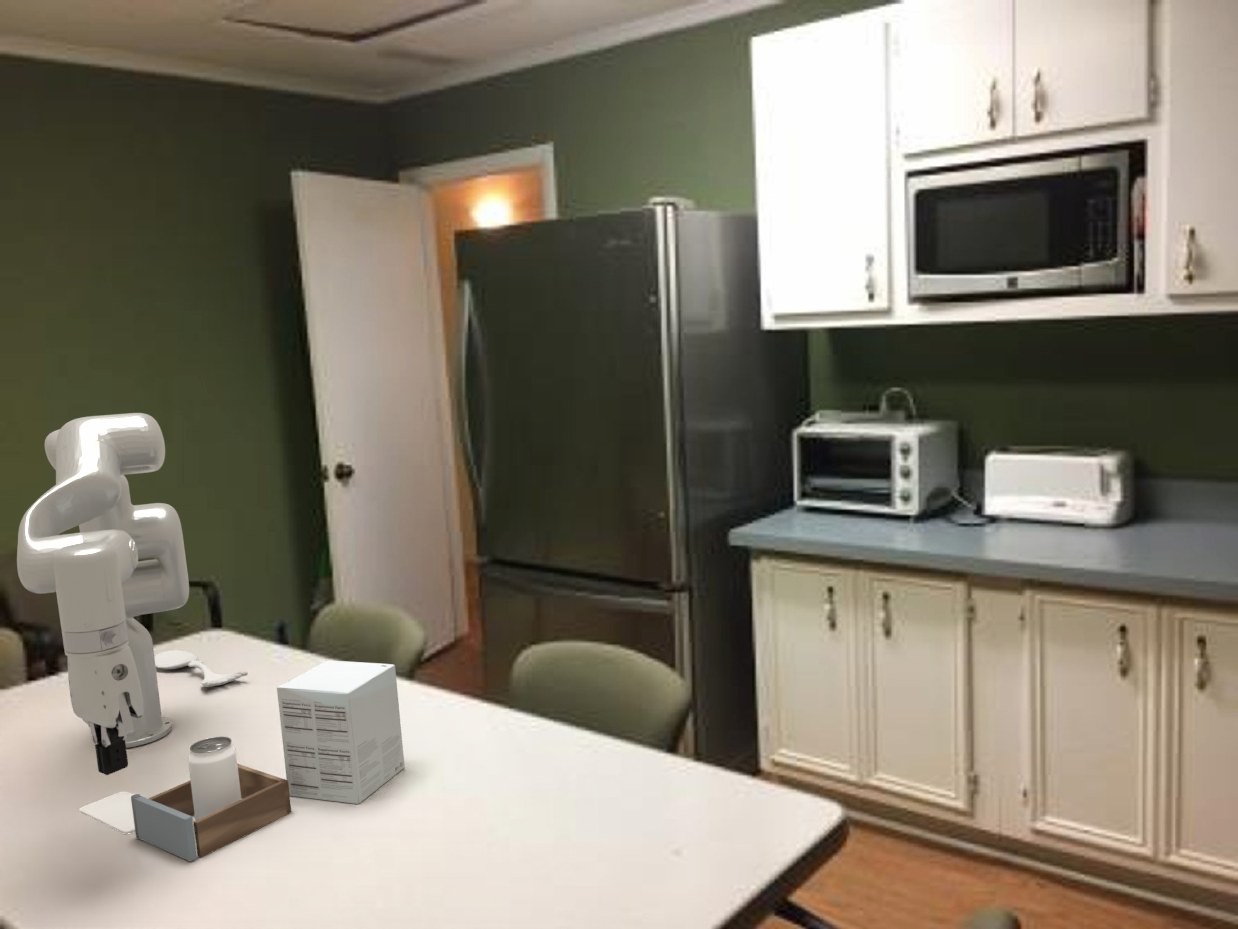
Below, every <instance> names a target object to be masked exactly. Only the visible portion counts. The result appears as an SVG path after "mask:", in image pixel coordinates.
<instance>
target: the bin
mask: <svg viewBox="0 0 1238 929" xmlns="http://www.w3.org/2000/svg"><path fill="white" fill-rule="evenodd" d="M237 765H238V774H239V782H240V791H241V800H239V801H237V802H235V803H233V804H230V805H228V806H226V807H224V808H222V809H220V810H217V811H215V812H213V813H211V814H209V815H207V816H205V817H202V818H200V819H198V820H196V821H195V820H193V829H194V837H195V845H196V853H197V857H198V856H199V857H198V858H203V857H205V856H207V855H209V854H211V853H213V852H216V851H217V850H219V849H221V848H223V847H225V846H227V845H229V844H231V843H233V842H235V841H238V840H239V839H241V838H243V837H245V836H247V835H249V834H251V833H253V832H255V831H258V830H259V829H261V828H263V827H265V826H267V825H269V824H272V823H274V822H275V821H278V820H279V819H282V818H284V817H285V816H287V815H289V814H291V813H292V805H291V796H290V794H289V785H288V780H287V779H286V778H282V777H280V776H276V775H273V774H270V773H266V772H264V771H260V770H257V769H254V768H252V767H249V766H247V765H246V766H245V765H242V764H241V763H237ZM147 799H150V800H152V801H155V802H157V803H160V804H162V805H165V806H167V807H170V808H172V809H175V810H177V811H180V812H182V813H185V814H187V815H190V816H192V817H193V816H195V813H194V805H193V797H192V789H191V780H190V779H189V780H188V781H186V782H183V783H181V784H179V785H176V786H174V787H172V788H169V789H167V790H165V791H162V792H160V793H158V794H155V795H153V796H150V797H148V798H147ZM212 851H213V852H212Z"/></svg>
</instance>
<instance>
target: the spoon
mask: <svg viewBox="0 0 1238 929" xmlns="http://www.w3.org/2000/svg"><path fill="white" fill-rule="evenodd" d="M154 658H155V666H156V668H159V669H161V670H162V669H163V670H177V669H182V668H185V667H187V666H188V667H190V668H197V669H199V670H200V671H202V673H203V677H204V678H203V680H202V681H201V682H200V684H201V685H202V686H203V687H205V688H209V687H210V688H211V687H217V686H222V685H225V684H227V683H231V682H234V681H235V680H238V679H240V678H242V677H245V676H248V675H249V674H248V671H247V670H242V671H239V672H236V673H224V674H223V673H221V674H220V673H216V672H214V671H213V670H212V669H210V668H209V667H208V666H207V665H206V664H204V661H203V660H201V659H200V660H198V659H199V657H198V656H197V655H196V654H195V653H193V652H190V651H186V650H182V649H181V650H180V649H173V650H171V649H170V650H165V651H161V652H159V653H157V654H154Z"/></svg>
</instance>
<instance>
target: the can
mask: <svg viewBox="0 0 1238 929" xmlns="http://www.w3.org/2000/svg"><path fill="white" fill-rule="evenodd" d="M189 749H190V753H189V756H188V757H187V758H188V760H187V762H188V769H189V770H188V771H189V781H190V780H191V789H192V797H193V805H194V813H195V814H194V818H195V820H194V821H196V820H198V819H200V818H202V817H205V816H207V815H209V814H211V813H213V812H215V811H217V810H220V809H222V808H224V807H226V806H228V805H230V804H233V803H235V802H237V801H239V800H241V799H242V798H241V791H240V782H239V774H238V765H237V764H238V758H237V751H236V748H235V747H234V745H233V744H232V739H231V738H230V737H228V736H213V737H207V738H204V739H201V740H198V741H196V742H194V743H193V744H192V745H191V746H190V748H189Z"/></svg>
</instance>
